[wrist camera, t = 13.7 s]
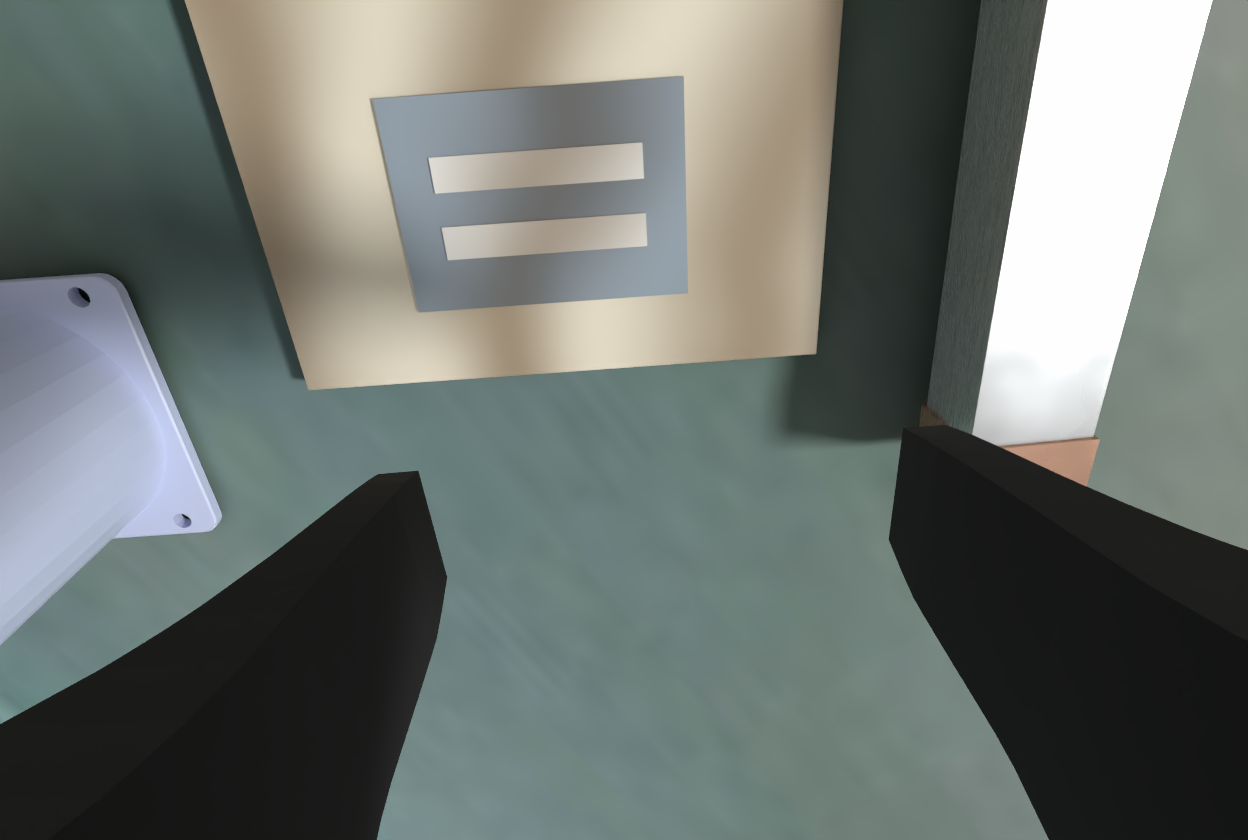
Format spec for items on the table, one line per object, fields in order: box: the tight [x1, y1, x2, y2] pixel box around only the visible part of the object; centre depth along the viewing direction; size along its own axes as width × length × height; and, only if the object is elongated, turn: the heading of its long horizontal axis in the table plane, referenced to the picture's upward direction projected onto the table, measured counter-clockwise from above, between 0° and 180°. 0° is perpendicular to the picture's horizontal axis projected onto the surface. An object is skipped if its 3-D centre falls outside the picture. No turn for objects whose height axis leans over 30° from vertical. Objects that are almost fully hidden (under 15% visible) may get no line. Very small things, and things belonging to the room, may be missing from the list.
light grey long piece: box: [919, 0, 1212, 487], centre depth 13 cm, size 20×3×5 cm, turn 5°
